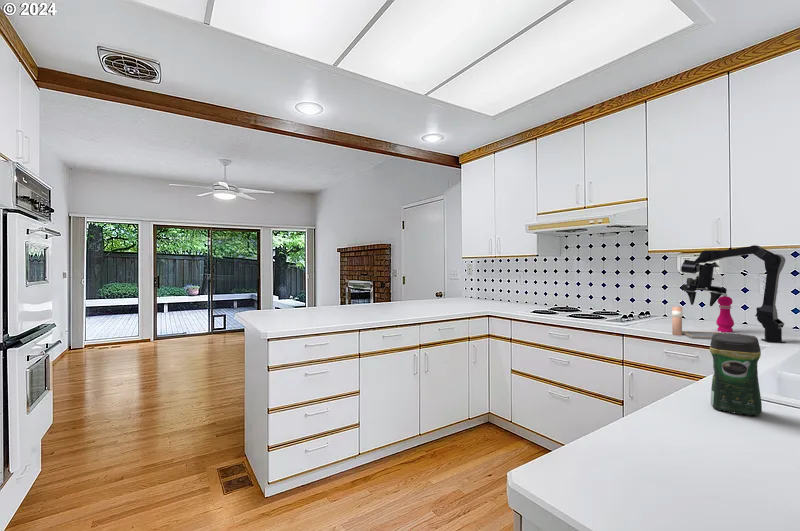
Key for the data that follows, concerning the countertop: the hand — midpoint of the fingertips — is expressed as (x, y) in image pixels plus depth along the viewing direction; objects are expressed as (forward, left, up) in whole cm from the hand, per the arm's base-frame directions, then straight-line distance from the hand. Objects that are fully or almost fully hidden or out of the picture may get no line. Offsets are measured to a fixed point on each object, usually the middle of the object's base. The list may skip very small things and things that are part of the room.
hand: (701, 305), depth 205 cm
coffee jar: (-124, +36, -14) cm, 130 cm away
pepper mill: (+9, -14, -14) cm, 22 cm away
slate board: (-11, +1, -14) cm, 18 cm away
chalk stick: (-9, +13, -14) cm, 22 cm away
